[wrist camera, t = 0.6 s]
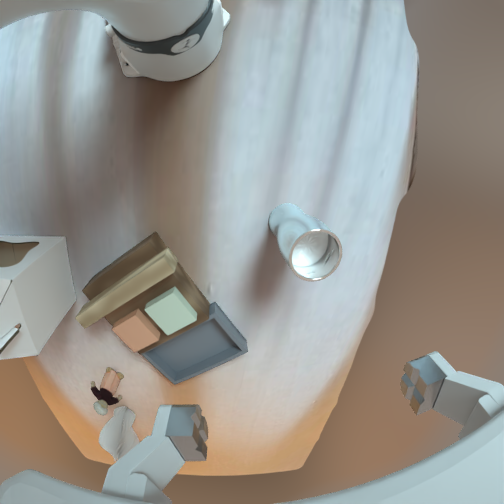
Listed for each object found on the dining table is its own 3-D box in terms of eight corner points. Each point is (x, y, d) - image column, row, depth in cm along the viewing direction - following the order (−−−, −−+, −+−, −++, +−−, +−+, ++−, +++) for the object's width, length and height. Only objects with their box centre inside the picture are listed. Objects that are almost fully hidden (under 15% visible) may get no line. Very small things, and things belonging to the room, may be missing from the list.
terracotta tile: (114, 322, 43) (111, 329, 41) (138, 308, 43) (135, 315, 41) (136, 345, 45) (134, 352, 44) (160, 333, 45) (158, 340, 43)
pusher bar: (83, 305, 41) (75, 318, 38) (168, 247, 39) (163, 257, 36) (92, 315, 42) (84, 329, 39) (178, 260, 40) (174, 272, 37)
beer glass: (310, 203, 45) (350, 231, 31) (302, 243, 47) (335, 285, 33) (269, 197, 44) (294, 223, 30) (262, 238, 46) (281, 281, 32)
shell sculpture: (126, 420, 61) (116, 472, 45) (106, 404, 58) (92, 457, 42) (147, 416, 61) (139, 471, 44) (127, 399, 58) (115, 456, 41)
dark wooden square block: (92, 277, 45) (82, 290, 40) (155, 231, 43) (148, 241, 39) (145, 338, 51) (140, 354, 46) (209, 303, 49) (209, 318, 45)
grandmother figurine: (129, 374, 54) (117, 416, 43) (126, 382, 55) (115, 424, 44) (98, 361, 52) (82, 401, 41) (96, 370, 53) (81, 410, 42)
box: (142, 340, 51) (139, 352, 48) (215, 301, 49) (215, 312, 46) (176, 373, 55) (174, 384, 52) (246, 340, 54) (248, 351, 50)
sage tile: (146, 303, 42) (144, 309, 41) (175, 286, 42) (173, 292, 40) (169, 328, 45) (167, 335, 43) (197, 313, 44) (196, 320, 42)
